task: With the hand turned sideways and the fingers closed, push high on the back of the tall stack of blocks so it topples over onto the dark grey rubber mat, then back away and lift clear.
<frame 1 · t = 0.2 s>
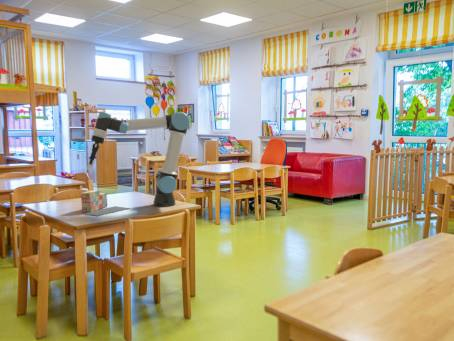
hand: (89, 168, 262), 28 cm above the table, tool tilted 15°, fingers open, 13 cm apart
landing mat: (106, 211, 266), on the table
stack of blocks: (95, 209, 271), on the table, touching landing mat
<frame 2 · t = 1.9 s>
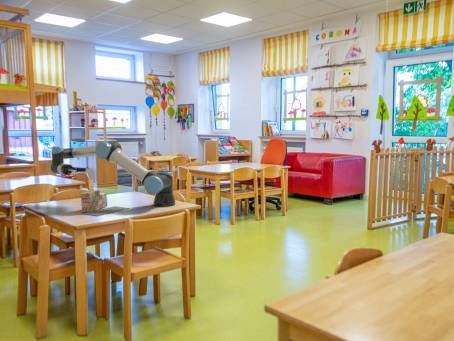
hand: (83, 171, 275), 24 cm above the table, tool horizontal, fingers open, 12 cm apart
nothing on the table moved.
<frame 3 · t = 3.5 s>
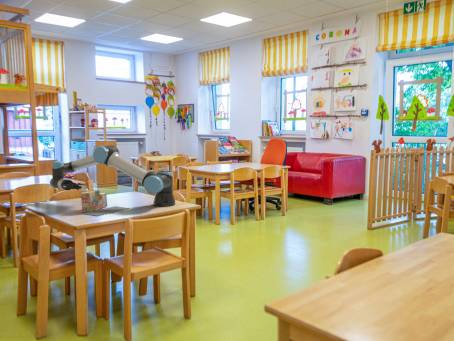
hand: (85, 187, 276), 14 cm above the table, tool horizontal, fingers closed
nothing on the table moved.
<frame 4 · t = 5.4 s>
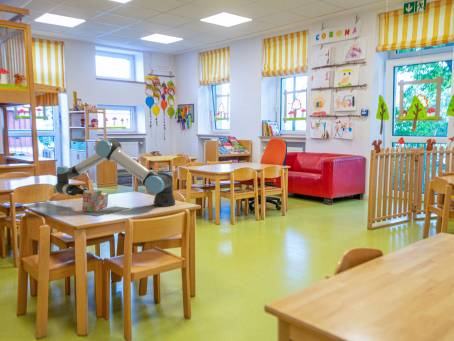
hand: (90, 193, 271), 11 cm above the table, tool horizontal, fingers closed
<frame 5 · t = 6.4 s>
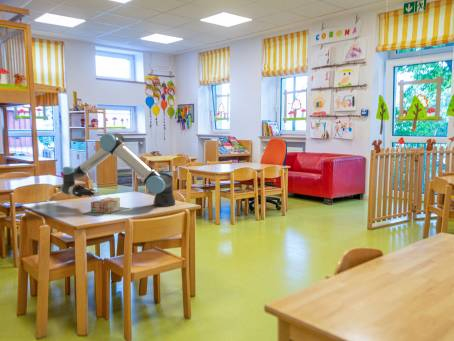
hand: (97, 194, 267), 11 cm above the table, tool horizontal, fingers closed
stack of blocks: (99, 204, 270), point 4 cm above the table, touching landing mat
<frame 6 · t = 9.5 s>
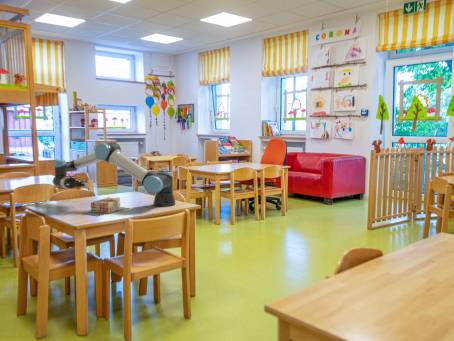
hand: (88, 185, 276), 15 cm above the table, tool horizontal, fingers closed
nothing on the table moved.
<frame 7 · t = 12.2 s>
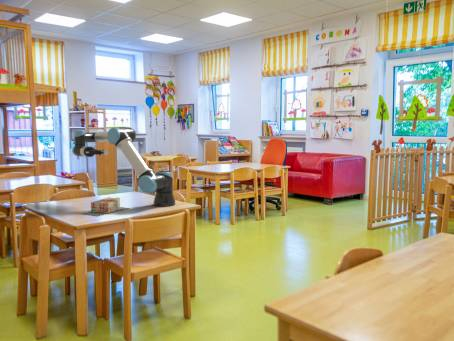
hand: (107, 152, 288), 36 cm above the table, tool horizontal, fingers closed
nothing on the table moved.
at the end: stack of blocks tilted 90°; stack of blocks touching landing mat; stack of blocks inside the target area (4.4 cm from its centre), point 3.5 cm above the table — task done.
